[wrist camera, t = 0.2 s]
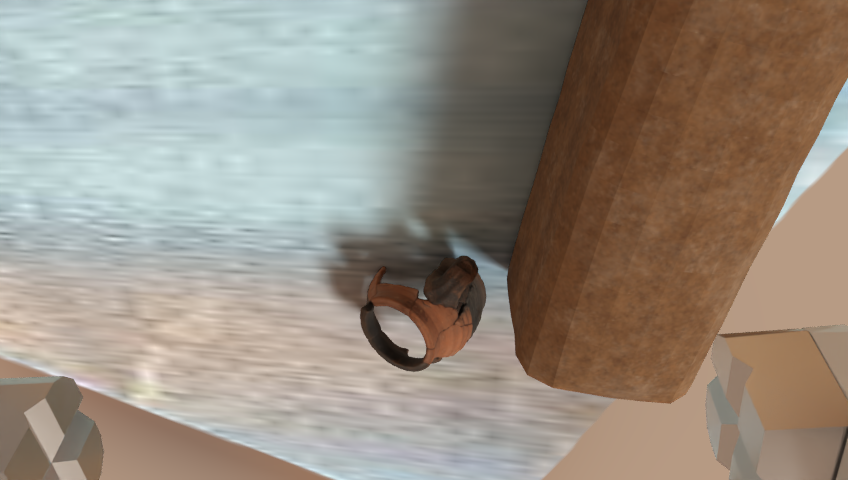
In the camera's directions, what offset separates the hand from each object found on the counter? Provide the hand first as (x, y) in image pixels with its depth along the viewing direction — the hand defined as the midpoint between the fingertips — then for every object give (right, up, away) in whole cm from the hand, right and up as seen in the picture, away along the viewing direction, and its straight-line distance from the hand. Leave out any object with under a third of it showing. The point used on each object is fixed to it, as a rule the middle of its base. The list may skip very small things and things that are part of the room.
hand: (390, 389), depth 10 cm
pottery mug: (+1, -2, +59) cm, 59 cm away
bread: (+17, +12, +49) cm, 54 cm away
